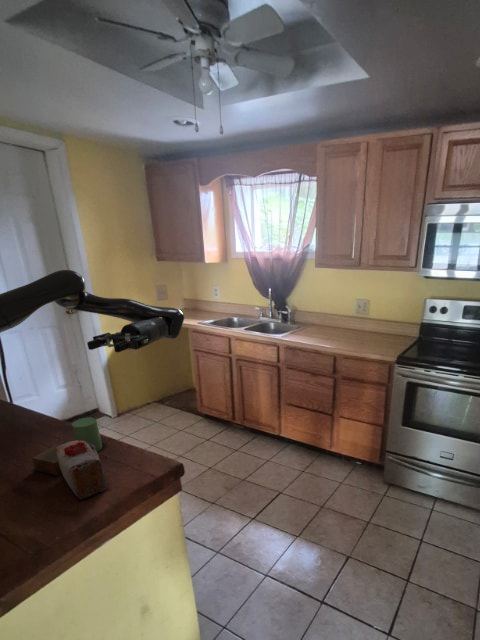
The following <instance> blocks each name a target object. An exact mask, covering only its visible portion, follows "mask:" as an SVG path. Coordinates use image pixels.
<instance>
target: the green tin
mask: <svg viewBox="0 0 480 640" xmlns="http://www.w3.org/2000/svg"><path fill="white" fill-rule="evenodd" d="M71 427H72V430H73V431H72V432H73V434H74V438H75V441H86V443H88V444H93V445H94V446H95V447H96V448H95V450H96V451H97V452H99V451H101V450H102V449H103V442H102V438H101V434H100V430H99V425H98V421H97V419H96V418H95V417H83V418H79V419H76V420H74V421H73V422H72V423H71ZM99 434H100V435H99Z"/></svg>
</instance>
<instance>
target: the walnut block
mask: <svg viewBox="0 0 480 640" xmlns="http://www.w3.org/2000/svg"><path fill="white" fill-rule="evenodd" d="M61 445H62V444H60V443H57V444H55V445H53V446H51V447H50V448H49V447H48V448H47V449H46V450H44V451H42V452H40V453H39V454H37V455H34V456H32V458H31V459H32V462H33V465H34V468H35V471H39V472H42V473H47V474H50V475H54V476H60V475H61V474H62V472H61V469H60V466H59V463H58V459H57V451H56V447H58V446H61Z"/></svg>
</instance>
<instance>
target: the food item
mask: <svg viewBox="0 0 480 640" xmlns="http://www.w3.org/2000/svg"><path fill="white" fill-rule="evenodd" d="M95 448H96V447H95V446H94V445H93V444H88V443H86V441H76V440H72V441H67V442H65V443H63V444H61V446H58V447H56V451H57V459H58V463H59V466H60V469H61V472H62V473H61V474H62V476H63V479H64V480H65V482H66V483H67V485H68V486H69V488H70V489H71V491H72V493H74V495H75V496H76V497H77V498H78V499H79V500H82V499H86V498H89V497H91V496H93V495H96V494H98V493H102V492H104V491H105V490H107V487H108V482H107V479H106V478H107V477H106V474H105V471H104V466H103V463H102V460H101V458H100V456H99V453H98V451H96V450H95Z"/></svg>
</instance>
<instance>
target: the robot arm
mask: <svg viewBox="0 0 480 640" xmlns="http://www.w3.org/2000/svg"><path fill="white" fill-rule="evenodd" d="M53 302H54V303H55V304H56V305H58V306H60V307H62V308H64V309H68V310H74V311H80V312H86V313H93V314H97V315H98V314H99V315H103V316H108V317H113V318H117V319H121V320H125V321H128V322H131V323H128V324H125V325H124V326H122V328H121V330H120V331H117V332H115V333H111V332H105V333H102V334H99V335H95V336H92V340H89V341H87V342H86V343H87V349H88V350H90V351H93V350H96V349H99V348H102V347H108V348H113V349H114V352H115V353H120V352H123V351H126V350H129V351H130V350H135V351H136V350H139V349H142V348H144V347H147V346H149V345H152V344H154V343H155V342H157V341H159V340H174V339H177V338H178V337H179V336H180V333H181V330H182V327H183V325H184V321H185V314H184V313H183V312H182V311H181V310H180V309H178V308H176V307H170V306H156V305H150V304H148V303H147V304H146V303H144V302H140V301H138V300H134V299H131V298H123V297H122V298H121V297H120V298H119V297H104V296H103V297H102V296H99V295H95V294H92V293H89V292H87V291H86V282H85V279H84V277H83V276H82V274H80V273H79V272H77V271H75V270H71V269H61V270H55V271H53V272H52V273H51V272H50V273H49V274H47V275H45V276H43V277H41V278H39V279H35V280H34V281H32V282H30V283H27V284H25V285H21V286H19V287H15V288H13V289H11V290H8V291H5V292H2V293H0V333H3V332H6V331H9V330H11V329H13V328H15V327H17V326H19V325H21V324H22V323H23V322H25V321H27V319H28V318H29V317H30V316H32V315H33V314H34V313H35V312H37V311H38V310H39V309H40V308H41V309H42V307H44V306H46V305H48V304H51V303H53ZM111 342H112V343H111Z"/></svg>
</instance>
